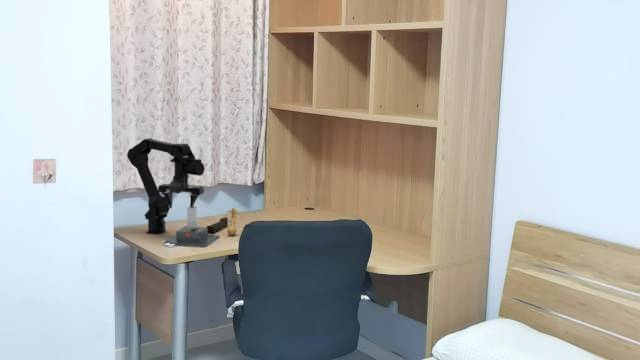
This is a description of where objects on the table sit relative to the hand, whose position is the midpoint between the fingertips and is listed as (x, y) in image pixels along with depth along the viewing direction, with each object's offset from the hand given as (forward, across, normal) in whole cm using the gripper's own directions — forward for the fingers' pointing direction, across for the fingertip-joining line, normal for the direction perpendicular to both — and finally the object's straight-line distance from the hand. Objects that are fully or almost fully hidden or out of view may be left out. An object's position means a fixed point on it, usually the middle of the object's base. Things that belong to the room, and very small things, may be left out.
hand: (181, 209), depth 304 cm
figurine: (+12, +21, +8) cm, 25 cm away
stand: (+12, +8, -8) cm, 16 cm away
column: (+6, +8, -7) cm, 13 cm away
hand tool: (+12, +11, +16) cm, 23 cm away
